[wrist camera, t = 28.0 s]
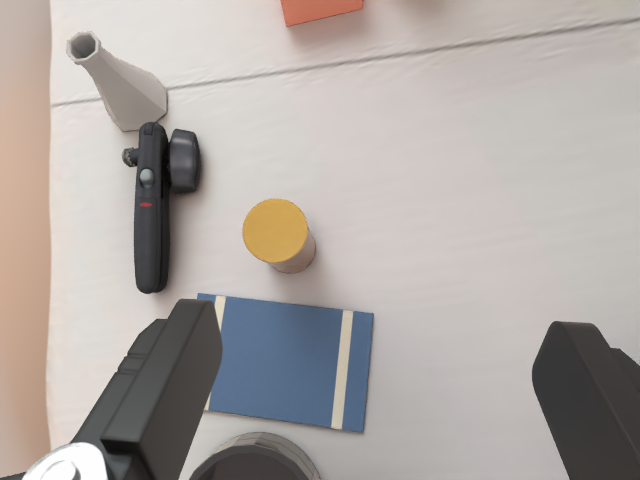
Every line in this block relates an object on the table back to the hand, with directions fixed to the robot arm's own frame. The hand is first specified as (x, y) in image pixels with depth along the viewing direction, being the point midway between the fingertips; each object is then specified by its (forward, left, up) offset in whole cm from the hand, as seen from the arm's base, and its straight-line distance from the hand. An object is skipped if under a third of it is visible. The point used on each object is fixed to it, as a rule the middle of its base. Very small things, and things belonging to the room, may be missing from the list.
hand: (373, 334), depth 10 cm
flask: (+35, +2, -31) cm, 47 cm away
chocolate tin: (+10, 0, -31) cm, 32 cm away
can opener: (+22, +7, -31) cm, 39 cm away
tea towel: (+3, +8, -31) cm, 32 cm away
